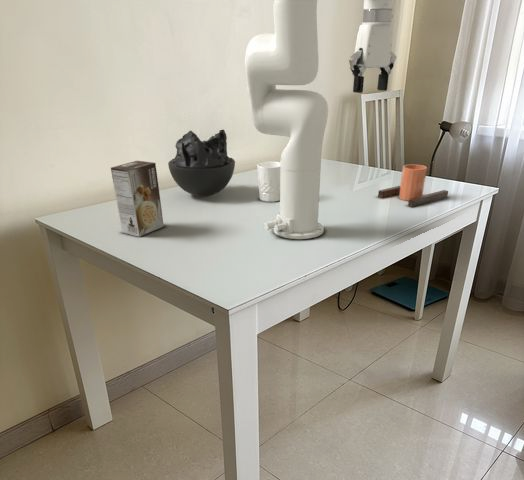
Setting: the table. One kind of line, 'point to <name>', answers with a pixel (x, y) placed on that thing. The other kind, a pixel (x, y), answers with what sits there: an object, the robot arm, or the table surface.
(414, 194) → the peach cup
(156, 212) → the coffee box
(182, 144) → the bowl of black rocks
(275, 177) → the white cup
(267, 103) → the robot arm
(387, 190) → the guide rails
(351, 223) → the table surface
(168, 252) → the table surface
